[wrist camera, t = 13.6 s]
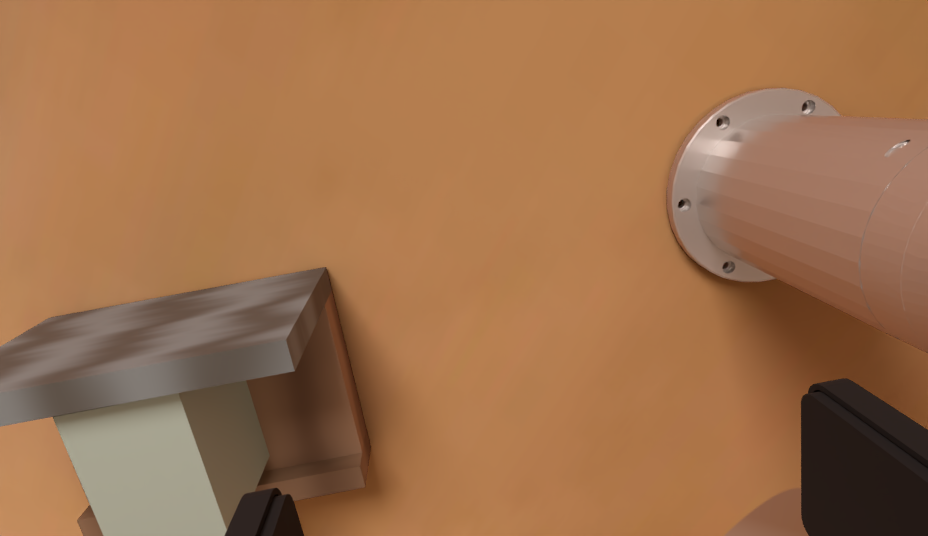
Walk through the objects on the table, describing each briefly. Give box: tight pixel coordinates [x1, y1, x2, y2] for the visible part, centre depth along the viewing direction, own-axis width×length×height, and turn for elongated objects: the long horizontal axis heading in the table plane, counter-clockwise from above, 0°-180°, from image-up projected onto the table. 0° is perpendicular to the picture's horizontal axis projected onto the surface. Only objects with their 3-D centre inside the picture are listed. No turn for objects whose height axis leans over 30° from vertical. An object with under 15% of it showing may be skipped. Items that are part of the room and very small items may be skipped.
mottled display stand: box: [0, 267, 371, 536], centre depth 34 cm, size 18×14×12 cm
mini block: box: [53, 380, 270, 536], centre depth 33 cm, size 6×9×8 cm, turn 10°
